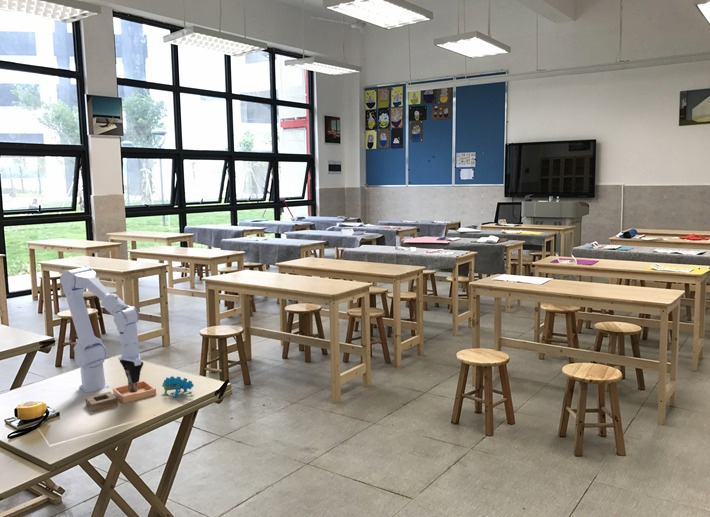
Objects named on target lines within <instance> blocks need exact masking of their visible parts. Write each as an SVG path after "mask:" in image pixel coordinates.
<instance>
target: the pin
mask: <svg viewBox="0 0 710 517" xmlns="http://www.w3.org/2000/svg"><path fill="white" fill-rule="evenodd" d="M124 373H125V374H126V373H127V374H128V379H127V385H128V392H129V393H134V392H137V391H138V388H137V383H132V381H131V377H130V373H129V371H128V369H126V370H124Z"/></svg>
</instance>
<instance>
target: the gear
mask: <svg viewBox="0 0 710 517" xmlns="http://www.w3.org/2000/svg"><path fill="white" fill-rule="evenodd" d="M161 387H162V388H163V389H164V392H163V393H164V394H163V396H166V395H167V394H168V391H175V392H174V396H173V397H174V398H178V395H179V391H181V390H183V391H188V390H192V388H194V383H193V381H191V380H188V378H185V377H184V378H183V379H182V378H181V376H176V377H174V376H173V375H172V376H170V377H166V378H165V379H164V380H163V382H162V385H161Z"/></svg>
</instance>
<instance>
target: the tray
mask: <svg viewBox="0 0 710 517" xmlns="http://www.w3.org/2000/svg"><path fill="white" fill-rule="evenodd" d="M137 388H138V391H137V392H134V393H129V392H128V384H126V385H125V384H124V385H122V386H121V385H120V386H117V387H113V388H112V394H113V395H115V396H116V397H117V400H119V401H121V403H123V404H126V403H130V402H133V401H136V400H140V399H144V398H148V397H151V396H155V395H157V389H156V387H154V386H153V385H152V384H150V383H149V382H148V381H146V380H139V382H137Z"/></svg>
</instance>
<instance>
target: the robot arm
mask: <svg viewBox="0 0 710 517" xmlns="http://www.w3.org/2000/svg"><path fill="white" fill-rule="evenodd" d="M59 280H60V284H61V287H62V290H63V294H64V295H65V299H66V302H67V306H68V308H69V311H70V314H71V315H70V316H71V319H72V323H73V325H74V329H75V332H76V336H77V339H78V341H77V343H76V344H75V345H74V346H73V352H74V361H75V363H76V364H77V366H79V368H80V378H81V384H79V388H80V389H81V390H82V391H84V392H85V393H90V392H94V391H95V392H96V391H98V390H103V389H107V388H110V386H109V385H108V384H107V383H106V379H105V378H106V377H105V371H104V370H105V369H104V363H105V359H106V358H107V356H108V351H107V347H106V346H105V345H104V343H103V340H102V339H101V338H99V337H97V336H96V335H95V333H94V330H93V326H92V323H91V320H90V316H89V312H88V308H87V306H86V302H85V299H84V295H83V294H84V293H85V290H88V291H90V292H91V293H92V294H93V295H95V296H96V297H97V298H99V300H101V306H102V307H103V308H104V309H105V310H106V311H107V312H108V313H109V314H110V315H111V316H112V317H113V318H112V319H113V322H114V324H115V325H116V326H115V327H116V330H117V332H118V335H119V341H120V343H119V344H120V350H121V351H120V353H121V356H118V357H117V358H118V360H119V362H120V364H121V366H122V367H123V370H124V371H125V370H126V369H128V371H129V373H130V377H131V381H132V383H137V382H140V376H141V371H142V369H143V366H144V362H143V361H141V353H140V347H139V338H138V329H137V327H138V326H137V322H139V320H140V313H139V310H138V309H137V308H136V307H135V306H133V305H131V306H130V305H129V304H126V303H125V301H123V300H122V299H121V298H120V297H119V295H118V294H117V293H110V292H109V290H108V289H107V288H106V287H105V286H104V285H103V284H102V283H101V282H100V280H99V279H98V278H97V272H96V271H95V270H94V269H93V268H92V267H91V266H89V265H85V266H83V267H78V268H72V269H67V270H64V271H63V272H62V273H61V276H60V278H59ZM125 377H126V379H127V380H128V374H127V373H125Z"/></svg>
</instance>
